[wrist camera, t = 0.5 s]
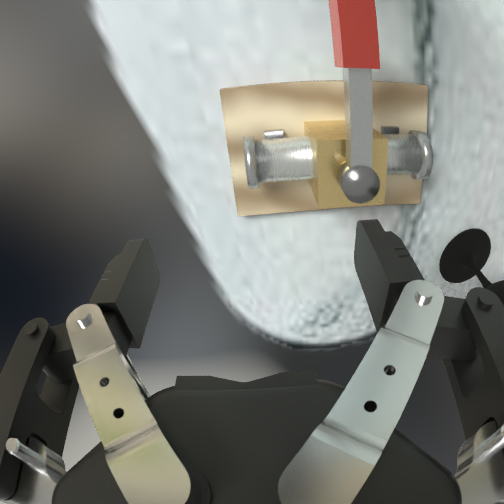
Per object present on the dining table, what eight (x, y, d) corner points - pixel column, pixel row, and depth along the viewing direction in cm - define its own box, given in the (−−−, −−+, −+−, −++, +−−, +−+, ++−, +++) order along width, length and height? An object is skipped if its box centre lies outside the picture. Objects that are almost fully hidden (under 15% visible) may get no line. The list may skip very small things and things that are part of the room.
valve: (243, 126, 33) (240, 146, 26) (412, 120, 31) (447, 140, 25) (250, 181, 36) (249, 214, 30) (409, 172, 35) (439, 201, 28)
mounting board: (221, 88, 32) (219, 90, 30) (421, 84, 30) (427, 85, 29) (238, 210, 40) (237, 216, 39) (414, 198, 38) (419, 203, 37)
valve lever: (370, 190, 28) (379, 203, 25) (336, 192, 28) (343, 205, 26) (365, -1, 18) (376, -6, 16) (325, -4, 18) (332, -9, 16)
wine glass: (436, 242, 42) (502, 344, 26) (489, 218, 39) (565, 306, 23) (440, 290, 47) (490, 387, 31) (489, 268, 45) (546, 354, 28)
